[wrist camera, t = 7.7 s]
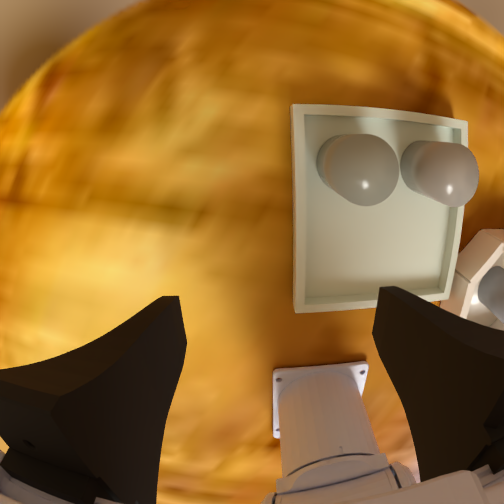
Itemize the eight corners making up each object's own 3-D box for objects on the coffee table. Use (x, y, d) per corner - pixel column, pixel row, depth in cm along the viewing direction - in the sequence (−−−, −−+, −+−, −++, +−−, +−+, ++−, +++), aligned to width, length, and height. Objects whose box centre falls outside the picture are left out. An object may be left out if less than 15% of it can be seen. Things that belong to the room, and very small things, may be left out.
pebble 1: (371, 192, 18) (397, 206, 15) (316, 192, 19) (331, 206, 15) (371, 135, 17) (399, 136, 13) (315, 133, 17) (331, 132, 14)
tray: (438, 289, 21) (448, 299, 20) (292, 301, 22) (295, 313, 20) (454, 121, 17) (467, 121, 15) (289, 106, 17) (292, 103, 16)
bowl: (504, 323, 23) (520, 339, 20) (430, 340, 23) (445, 360, 20) (529, 228, 19) (550, 239, 17) (454, 229, 20) (476, 242, 17)
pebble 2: (442, 194, 18) (476, 208, 15) (399, 193, 18) (429, 206, 15) (444, 142, 17) (479, 147, 13) (400, 137, 17) (431, 139, 13)
